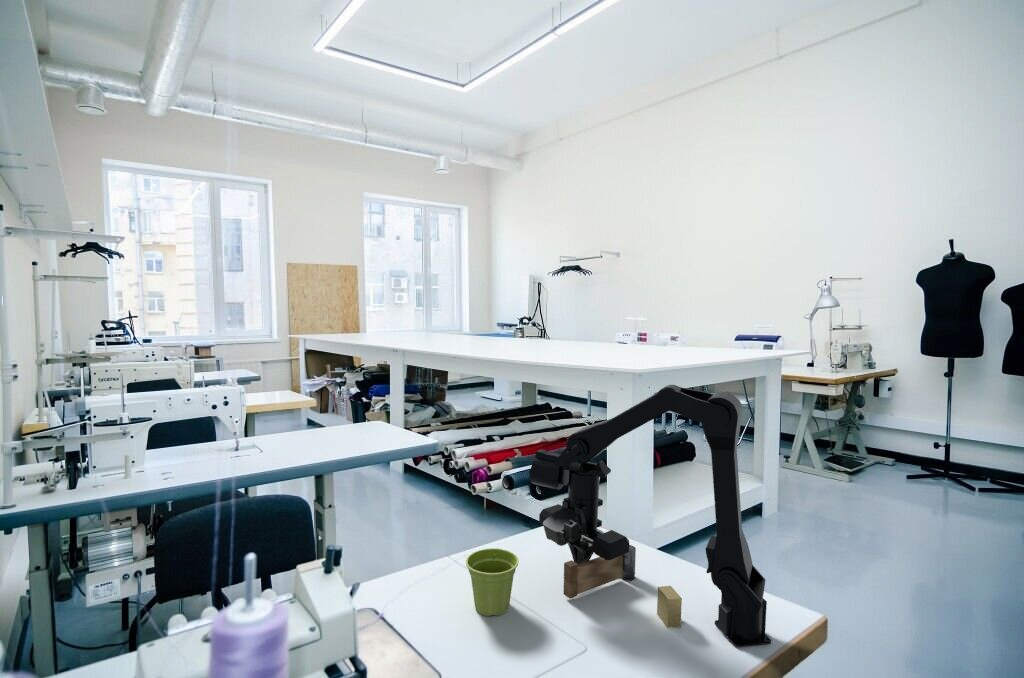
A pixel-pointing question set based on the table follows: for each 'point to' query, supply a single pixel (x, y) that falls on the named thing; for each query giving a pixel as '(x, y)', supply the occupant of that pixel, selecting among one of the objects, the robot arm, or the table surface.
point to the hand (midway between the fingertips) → (580, 572)
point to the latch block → (669, 606)
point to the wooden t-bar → (590, 574)
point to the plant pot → (492, 579)
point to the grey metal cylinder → (629, 564)
